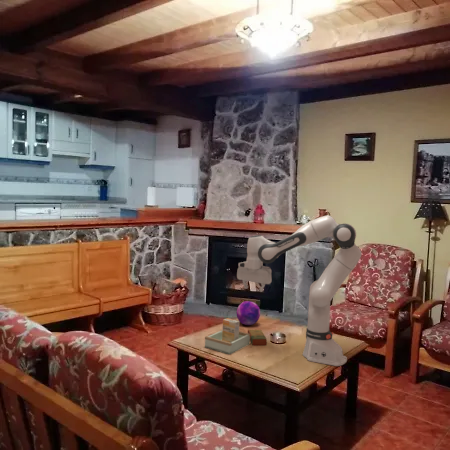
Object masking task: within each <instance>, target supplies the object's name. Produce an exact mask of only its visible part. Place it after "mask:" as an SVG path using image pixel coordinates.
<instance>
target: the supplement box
mask: <svg viewBox="0 0 450 450" xmlns="http://www.w3.org/2000/svg"><path fill="white" fill-rule="evenodd" d="M240 323H241V322H240V321H239V320H238V319H237V320H236V319H232V318H229V317H227V318H224V319H222V329H221V330H222V341H226V342H230V343H231V342H233V341H235V340H237V339H239V331H240Z"/></svg>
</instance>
